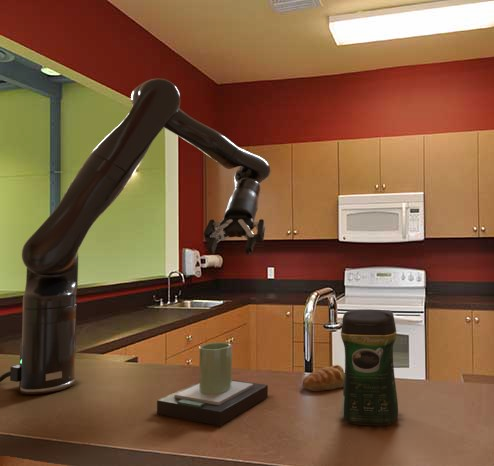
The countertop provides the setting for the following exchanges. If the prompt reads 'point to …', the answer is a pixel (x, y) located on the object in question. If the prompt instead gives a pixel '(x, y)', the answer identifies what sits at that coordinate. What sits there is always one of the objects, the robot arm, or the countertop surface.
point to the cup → (215, 368)
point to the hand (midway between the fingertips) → (229, 251)
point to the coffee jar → (369, 367)
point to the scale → (212, 403)
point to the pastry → (325, 378)
